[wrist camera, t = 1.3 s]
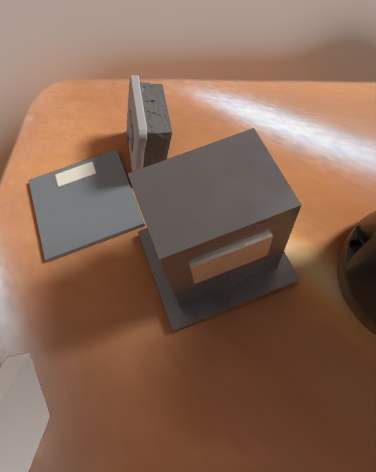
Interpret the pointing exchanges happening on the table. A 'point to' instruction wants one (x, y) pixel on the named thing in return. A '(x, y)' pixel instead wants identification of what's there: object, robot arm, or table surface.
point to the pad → (83, 205)
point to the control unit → (216, 227)
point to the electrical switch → (147, 124)
